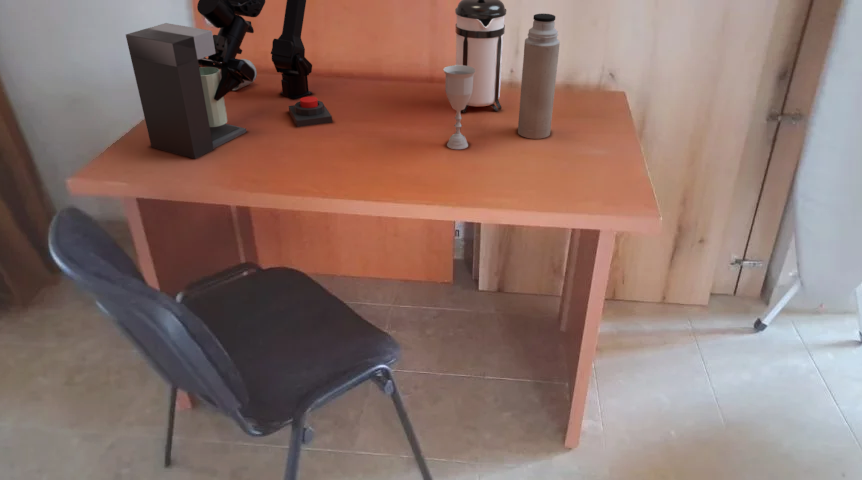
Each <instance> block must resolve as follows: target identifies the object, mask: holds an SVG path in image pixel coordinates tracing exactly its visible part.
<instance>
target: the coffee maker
mask: <svg viewBox="0 0 862 480" xmlns="http://www.w3.org/2000/svg"><path fill="white" fill-rule="evenodd" d="M213 35H214V34H213V30H209V29H203V28H198V27H193V26H192V27H191V26H186V25H180V24H174V23H169V22H165V23H160V24H157V25H153V26H150V27H148V28H143V29H140V30H136V31H133V32H130V33H126V34H125V39H126V42H127V47H128V51H129V56H130V60H131V65H132V67H133V68H132V69H133V73H134V77H135V82H136V86H137V91H138V95H139V100H140V104H141V108H142V112H143V117H144V120H145V121H144V122H145V127H146V129H147V134H148V138H149V143H150V147H151V148H154V149H158V150H161V151H165V152H168V153H172V154H174V155H179V156H183V157H187V158H190V159H194V160H196V159H198V158H200V157H202V156H205V155H206V154H208V153H210V152H212V151H214V150H215V149H216V148H218V147H220V146H221V145H224V144H226V143H228V142H230V141H232V140H234V139H235V138H237V137H239V136H241V135H244V134H245V133H247V132H248V131H247V127H241V126H237V125H233V124H230V123H226V124H224V125H221V126H217V127H210V126H209V120H208V115H207V109H206V103H205V98H204V92H203V87H202V81H201V75H200V70H199V64H198V60H199V59H202V58H204V57H205V58H208V56H210V55H213V54H216V53H215V47H214V41H213Z"/></svg>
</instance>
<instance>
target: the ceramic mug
mask: <svg viewBox="0 0 862 480" xmlns="http://www.w3.org/2000/svg"><path fill="white" fill-rule="evenodd" d="M239 59H240V60H244V61H245V62H246V63H247V64H248V65H250V66H251V67H252V68H253V69H254V71H255V77H254V79H253V81H252V82H250V81H245V80H244V81H245V82H244V83H241V84H239V85H238V86H236V87H235V88H234V89H232V90H231V91H238V90H241V89H242V88H244V87H246V86H249V85H251V84H252V83H254V82H255V81H256V79H257V75H258V73H257V71H258V70H257V68H256V66H255V64H254V63H253V61H251V60H250V59H247V58H239ZM219 70H220V75H221V78H222V72H221V69H219Z"/></svg>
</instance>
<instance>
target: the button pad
mask: <svg viewBox="0 0 862 480" xmlns="http://www.w3.org/2000/svg"><path fill="white" fill-rule="evenodd" d="M317 101H318V106H317V107H314V108H303V107H301V106H300V101H297V102H296V103H295V104H294V105H288V113H289V115H290V117H291V119H292V121H293V123H294V124H295V126H296V128H301V127H307V126H316V125H323V124H330V123H331V124H332V123H333V115H332V114H331V112H330V111H329V109H328V108H327V107H326V105H325V103H324V102H323V101H321V100H318V99H317Z"/></svg>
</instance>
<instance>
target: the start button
mask: <svg viewBox="0 0 862 480" xmlns="http://www.w3.org/2000/svg"><path fill="white" fill-rule="evenodd" d="M317 100H318V98H317V97H316V96H312V95H311V96H310V95H307V96H304V97H301V98H299V102H300V106H301V107H303V108H314V107H317V106H318V101H319V100H318V101H317Z"/></svg>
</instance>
